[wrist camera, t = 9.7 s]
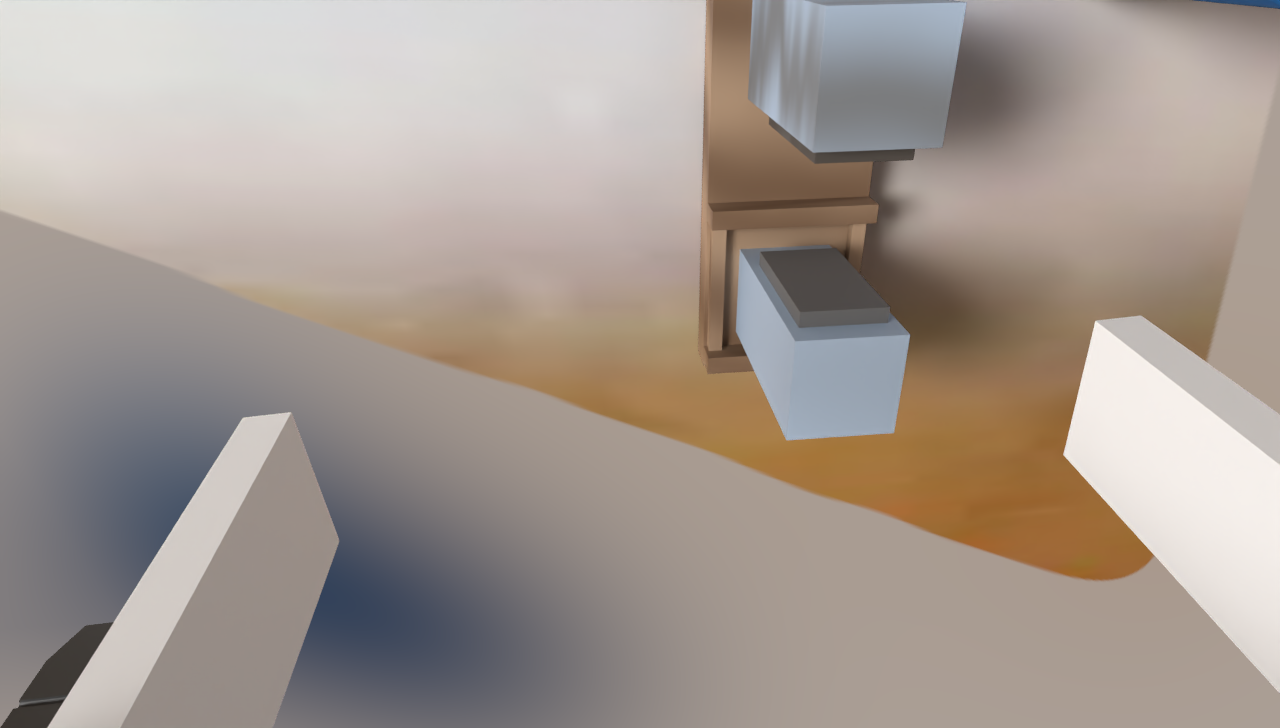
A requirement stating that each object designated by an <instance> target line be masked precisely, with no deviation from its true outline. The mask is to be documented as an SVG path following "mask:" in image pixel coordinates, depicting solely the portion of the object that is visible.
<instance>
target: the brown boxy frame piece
mask: <svg viewBox="0 0 1280 728" xmlns="http://www.w3.org/2000/svg"><path fill="white" fill-rule="evenodd" d="M966 4H967V2H960V1H954V0H706V42H705V85H704V128H703V171H702V213H701V256H700V299H699V342H698V351H699V354H700V357H701V360H702V363H703V365H705V367H706V370H707V373H708V374H714V373H731V372H747V371H754V369H753V367H752V365H751V363H750V361H749V358H748V356H747V354H746V352H745V350H744V348H743V346H742V343H741V341H740V339H739V337H738V335H737V333H736V318H737V298H738V277H739V256H740V249H753V248H773V247H794V246H815V245H830V246H831V247H832V248H837V250H838V251H839V252H840V253H841V254H842V255H843V256H844V257H845V258H846V259H847V261H848V262H849V263H850V264H851V265H852V266H853V267H854V268H855V269H856V270H857V271H858V273H859V274H860V270H861V262H862V255H863V247H864V239H865V231H866V224H869V223H876V222H877V215H878V208H879V204H878V203H876V202H875V201H874V200H873V199H871V198H870V197H869V191H870V183H871V175H872V167H873V162H874V161H899V160H913V159H914V152H915V149H921V148H942V147H943V141H944V135H945V129H946V123H947V117H948V111H949V105H950V99H951V93H952V87H953V81H954V75H955V69H956V63H957V57H958V51H959V45H960V39H961V33H962V27H963V21H964V16H965V10H966Z"/></svg>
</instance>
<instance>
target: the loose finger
mask: <svg viewBox="0 0 1280 728" xmlns="http://www.w3.org/2000/svg"><path fill="white" fill-rule="evenodd" d="M736 333H737V335H738V337H739V339H740V341H741V343H742V346H743V348H744V350H745V352H746V354H747V356H748V358H749V361H750V363H751V365H752V367H753V369H754V371H755V373H756V376H757V378H758V380H759V382H760V384H761V386H762V389H763V391H764V393H765V395H766V397H767V399H768V401H769V404H770V406H771V408H772V410H773V412H774V414H775V416H776V419H777V421H778V423H779V425H780V427H781V429H782V432H783V434H784V436H785V438H786V440H797V439H812V438H826V437H841V436H856V435H871V434H885V433H894V429H895V423H896V417H897V411H898V405H899V399H900V393H901V387H902V381H903V375H904V369H905V363H906V357H907V351H908V345H909V339H910V334H909V333H908V332H907V331H906V329H905V328H904V327H903V326H902V325H901V324H900V323H899V322H898V321H897V319H896V318H895V317H894V316H893V315H892V314H891V313H890V306H889V305H888V304H887V303H886V302H885V301H884V300H883V299H882V298H881V297H880V295H879V294H878V293H877V292H876V291H875V290H874V289H873V288H872V287H871V286H870V285H869V283H868V282H867V281H866V280H865V279H864V278H863V277H862V276H861V275H860V274H859V273H858V271H857V270H856V269H855V268H854V267H853V266H852V265H851V264H850V263H849V262H848V261H847V259H846V258H845V257H844V256H843V255H842V254H841V253H840V252H839V251H838V250H837V248H832V247H831V246H830V245H815V246H794V247H773V248H753V249H740V256H739V277H738V298H737V318H736Z"/></svg>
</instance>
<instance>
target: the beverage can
mask: <svg viewBox="0 0 1280 728" xmlns="http://www.w3.org/2000/svg"><path fill="white" fill-rule="evenodd" d="M1195 1H1206V2H1216V3H1226V4H1237V5H1247V6H1257V7H1268V8H1278V9H1280V0H1195Z"/></svg>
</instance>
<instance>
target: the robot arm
mask: <svg viewBox="0 0 1280 728" xmlns="http://www.w3.org/2000/svg"><path fill="white" fill-rule="evenodd" d="M1064 456H1065V457H1066V458H1067V459H1068V460H1069V462H1070V463H1071V464H1072V465H1073V466H1074V467H1075V468H1076V469H1077V470H1078V471H1079V473H1080V474H1081V475H1082V476H1083V477H1084V478H1085V479H1086V480H1087V481H1088V482H1089V484H1090V485H1091V486H1092V487H1093V488H1094V489H1095V490H1096V491H1097V492H1098V494H1099V495H1100V496H1101V497H1102V498H1103V499H1104V500H1105V501H1106V502H1107V503H1108V505H1109V506H1110V507H1111V508H1112V509H1113V510H1114V511H1115V512H1116V513H1117V514H1118V516H1119V517H1120V518H1121V519H1122V520H1123V521H1124V522H1125V523H1126V524H1127V526H1128V527H1129V528H1130V529H1131V530H1132V531H1133V532H1134V533H1135V534H1136V535H1137V537H1138V538H1139V539H1140V540H1141V541H1142V542H1143V543H1144V544H1145V545H1146V546H1147V548H1148V549H1149V550H1150V551H1151V552H1152V553H1153V554H1154V555H1155V556H1156V557H1157V559H1158V560H1159V561H1160V562H1161V563H1162V564H1163V565H1164V566H1165V567H1166V569H1168V571H1169V572H1170V573H1171V574H1172V575H1173V576H1174V577H1175V578H1176V580H1177V581H1178V582H1179V583H1180V584H1181V585H1182V586H1183V587H1184V588H1185V589H1186V590H1187V592H1188V593H1189V594H1190V595H1191V596H1192V597H1193V598H1194V599H1195V600H1196V602H1197V603H1198V604H1199V605H1200V606H1201V607H1202V608H1203V609H1204V610H1205V612H1206V613H1207V614H1208V615H1209V616H1210V617H1211V618H1212V619H1213V620H1214V621H1215V623H1216V624H1217V625H1218V626H1219V627H1220V628H1221V629H1222V630H1223V631H1224V632H1225V634H1226V635H1227V636H1228V637H1229V638H1230V639H1231V640H1232V641H1233V642H1234V643H1235V645H1236V646H1237V647H1238V648H1239V649H1240V650H1241V651H1242V652H1243V653H1244V654H1245V655H1246V657H1247V658H1248V659H1249V660H1250V661H1251V662H1252V663H1253V664H1254V665H1255V667H1256V668H1257V669H1258V670H1259V671H1260V672H1261V673H1262V674H1263V675H1264V677H1265V678H1266V679H1267V680H1268V681H1269V682H1270V683H1271V684H1272V685H1273V686H1274V687H1275V689H1276V690H1277V691H1278V692H1279V693H1280V414H1278V413H1277V412H1276V411H1274V410H1273V409H1272V408H1270V407H1269V406H1267V405H1266V404H1265V403H1263V402H1262V401H1260V400H1259V399H1257V398H1256V397H1255V396H1253V395H1252V394H1251V393H1249V392H1248V391H1246V390H1245V389H1243V388H1242V387H1241V386H1239V385H1238V384H1237V383H1235V382H1234V381H1232V380H1231V379H1229V378H1228V377H1227V376H1225V375H1224V374H1222V373H1221V372H1220V371H1218V370H1217V369H1215V368H1214V367H1212V366H1211V365H1210V364H1208V363H1207V362H1206V361H1204V360H1203V359H1201V358H1200V357H1199V356H1197V355H1196V354H1194V353H1193V352H1192V351H1190V350H1189V349H1187V348H1186V347H1185V346H1183V345H1182V344H1180V343H1179V342H1178V341H1176V340H1175V339H1173V338H1172V337H1170V336H1169V335H1168V334H1166V333H1165V332H1163V331H1162V330H1161V329H1159V328H1158V327H1156V326H1155V325H1154V324H1152V323H1151V322H1149V321H1148V320H1147V319H1145V318H1144V317H1142V316H1133V317H1124V318H1116V319H1107V320H1098V321H1095V325H1094V330H1093V334H1092V338H1091V342H1090V346H1089V350H1088V355H1087V359H1086V363H1085V367H1084V371H1083V376H1082V380H1081V384H1080V388H1079V392H1078V396H1077V401H1076V405H1075V409H1074V413H1073V417H1072V421H1071V426H1070V430H1069V434H1068V438H1067V442H1066V447H1065V451H1064ZM338 543H339V539H338V536H337V533H336V531H335V528H334V525H333V522H332V520H331V517H330V514H329V512H328V509H327V506H326V504H325V501H324V498H323V496H322V493H321V490H320V488H319V485H318V482H317V480H316V477H315V474H314V471H313V469H312V466H311V463H310V461H309V458H308V455H307V453H306V450H305V447H304V445H303V442H302V439H301V437H300V434H299V431H298V429H297V426H296V423H295V421H294V418H293V415H292V413H291V412H289V413H280V414H271V415H263V416H254V417H245V418H243V419H242V420H241V422H240V423H239V425H238V426H237V428H236V430H235V431H234V433H233V435H232V436H231V438H230V439H229V441H228V442H227V444H226V446H225V447H224V449H223V450H222V452H221V453H220V455H219V457H218V458H217V460H216V461H215V463H214V464H213V466H212V468H211V469H210V471H209V473H208V474H207V476H206V477H205V479H204V481H203V482H202V484H201V485H200V487H199V488H198V490H197V492H196V493H195V495H194V496H193V498H192V499H191V501H190V502H189V504H188V506H187V507H186V509H185V510H184V512H183V514H182V515H181V517H180V518H179V520H178V522H177V523H176V525H175V526H174V528H173V529H172V531H171V533H170V534H169V536H168V538H167V539H166V541H165V542H164V544H163V545H162V547H161V548H160V550H159V552H158V553H157V555H156V556H155V558H154V560H153V561H152V563H151V565H150V566H149V567H148V569H147V571H146V572H145V574H144V575H143V577H142V579H141V580H140V582H139V583H138V585H137V587H136V588H135V590H134V591H133V593H132V594H131V596H130V598H129V599H128V601H127V602H126V604H125V605H124V607H123V609H122V610H121V612H120V613H119V615H118V617H117V618H116V620H115V621H114V622H112V623H103V624H95V625H88V626H85V627H84V628H83V629H81V630H80V631H79V632H78V633H77V634H76V635H75V636H74V637H73V638H71V639H70V640H69V641H68V642H67V643H66V644H65V645H64V646H63V647H62V648H60V649H59V650H58V651H57V652H56V653H55V654H54V655H53V656H51V657H50V658H49V659H48V660H47V661H46V662H45V664H44V665H43V667H42V668H41V669H40V671H39V673H38V674H37V675H36V677H35V678H34V680H33V681H32V683H31V684H30V685H29V687H28V688H27V690H26V691H25V693H24V694H23V696H22V697H21V699H20V700H19V702H20V704H19V707H18V708H16V709H13V710H12V712H11V713H10V715H9V716H8V718H7V719H6V720H5V722H4V723H3V725H2V726H1V728H273V725H274V722H275V720H276V717H277V714H278V711H279V708H280V706H281V703H282V700H283V697H284V694H285V692H286V689H287V686H288V683H289V680H290V678H291V675H292V672H293V669H294V666H295V663H296V660H297V658H298V655H299V652H300V649H301V647H302V644H303V641H304V638H305V635H306V632H307V630H308V627H309V624H310V622H311V618H312V616H313V613H314V610H315V608H316V605H317V602H318V599H319V596H320V593H321V591H322V588H323V585H324V582H325V580H326V577H327V574H328V571H329V568H330V566H331V563H332V560H333V557H334V554H335V551H336V549H337V546H338Z"/></svg>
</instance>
